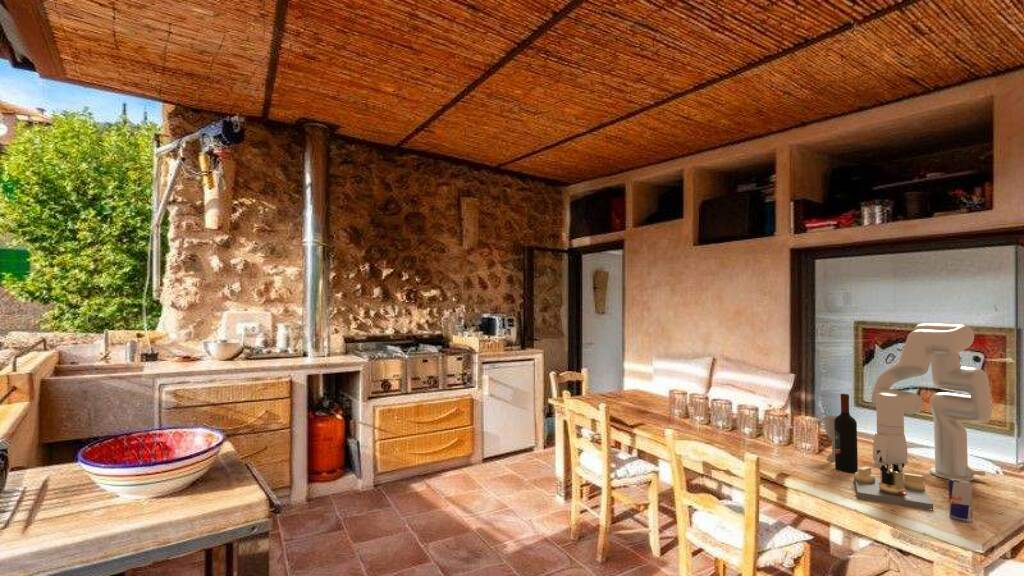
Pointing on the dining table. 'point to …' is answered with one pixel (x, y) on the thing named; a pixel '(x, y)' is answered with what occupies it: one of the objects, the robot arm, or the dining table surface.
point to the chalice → (830, 434)
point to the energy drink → (960, 500)
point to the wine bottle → (845, 439)
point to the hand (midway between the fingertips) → (891, 483)
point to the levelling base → (913, 488)
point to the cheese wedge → (893, 484)
